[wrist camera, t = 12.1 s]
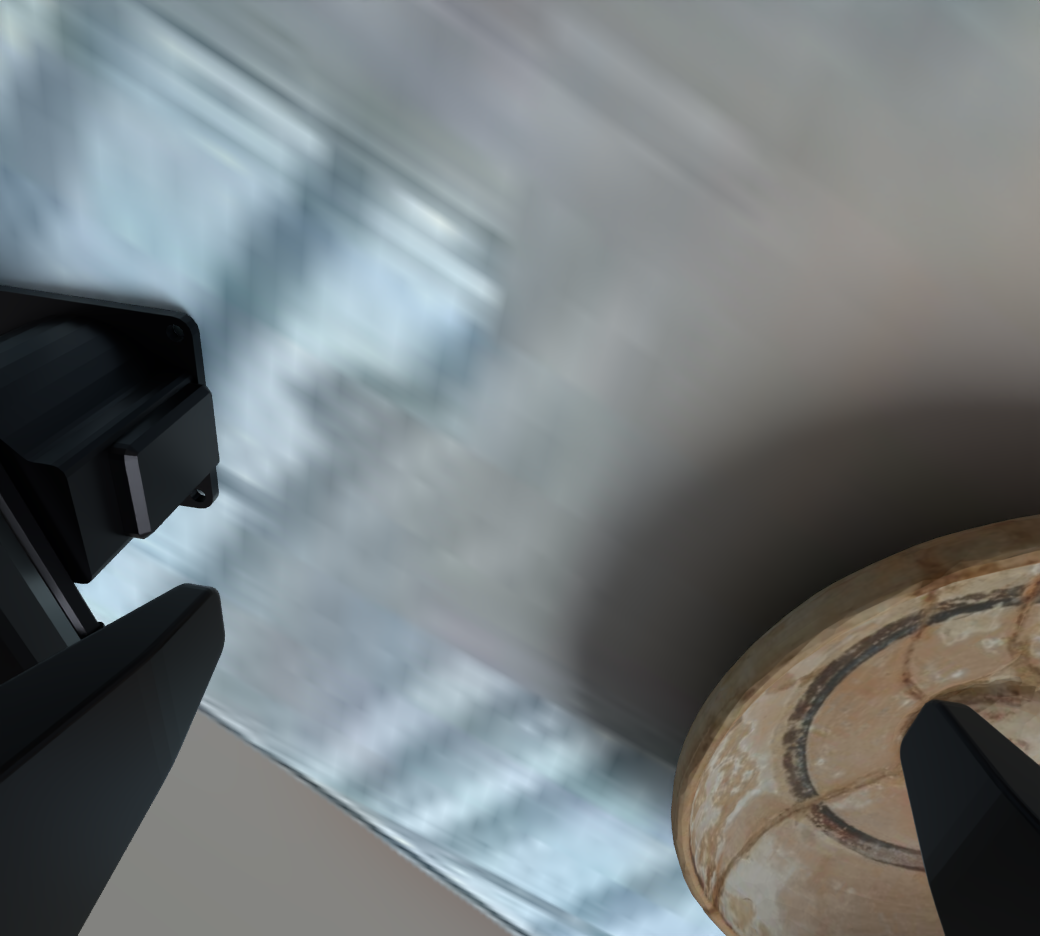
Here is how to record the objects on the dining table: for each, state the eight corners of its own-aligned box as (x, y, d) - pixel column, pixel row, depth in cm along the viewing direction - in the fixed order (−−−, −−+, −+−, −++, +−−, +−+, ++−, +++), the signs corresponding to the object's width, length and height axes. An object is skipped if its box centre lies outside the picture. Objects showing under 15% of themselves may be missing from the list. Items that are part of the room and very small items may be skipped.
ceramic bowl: (1544, 386, 18) (1855, 488, 13) (1234, 895, 29) (1347, 1039, 25) (635, 476, 21) (647, 579, 17) (677, 897, 33) (691, 1022, 28)
